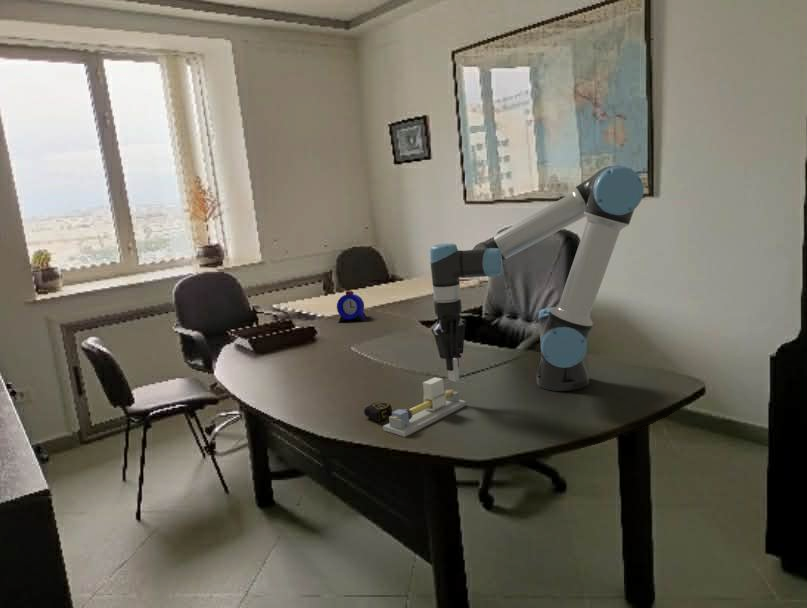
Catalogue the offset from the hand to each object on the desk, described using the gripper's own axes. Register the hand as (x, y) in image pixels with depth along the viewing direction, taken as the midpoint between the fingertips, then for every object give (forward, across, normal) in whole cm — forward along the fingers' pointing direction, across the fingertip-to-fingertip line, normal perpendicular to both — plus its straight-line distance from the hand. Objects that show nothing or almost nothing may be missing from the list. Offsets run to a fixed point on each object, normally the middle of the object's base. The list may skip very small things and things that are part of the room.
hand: (453, 380), depth 175 cm
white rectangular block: (+5, +9, 0) cm, 10 cm away
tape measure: (+7, +20, -11) cm, 24 cm away
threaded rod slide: (+7, +13, 0) cm, 14 cm away
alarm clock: (+8, -61, -117) cm, 132 cm away
